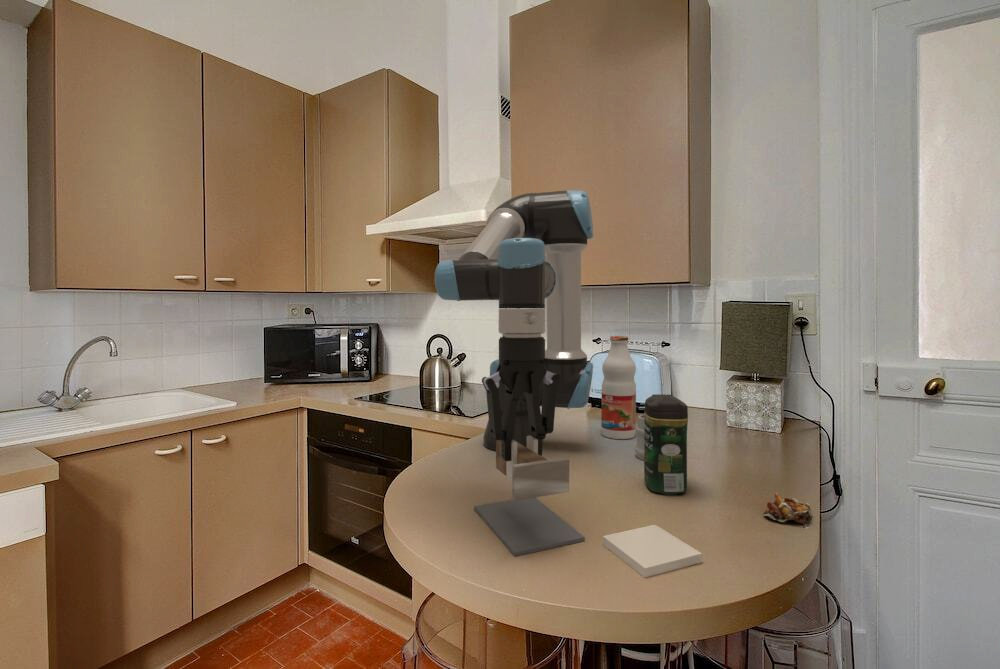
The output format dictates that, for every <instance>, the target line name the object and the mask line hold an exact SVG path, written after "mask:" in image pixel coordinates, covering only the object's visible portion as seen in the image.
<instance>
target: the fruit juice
mask: <svg viewBox="0 0 1000 669" xmlns="http://www.w3.org/2000/svg"><path fill="white" fill-rule="evenodd" d="M609 340H610V348H609V351H608V353H607V356H606V358H605V359H604V361H603V363H602V368H601V371H602V373H603V380H602V383H601V415H600V416H601V422H600V423H601V425H600V426H601V429H600V431H601V435H602V436H603V437H605V438H609V439H614V440H630V439H633V438H635V436H636V433H637V431H636V428H637V427H636V424H637V419H636V418H637V385H636V382H635V374H636V372H637V368H636V363H635V361H634V360H633V357H631V353H630V351H629V348H628V343H629V336H628V335H611V336H610V339H609Z"/></svg>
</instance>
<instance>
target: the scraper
mask: <svg viewBox="0 0 1000 669" xmlns="http://www.w3.org/2000/svg"><path fill="white" fill-rule="evenodd" d="M501 453H502V452H501V440H497V441H496V450H495V469H497V470H498V471H499V472H500V473H501V474H503V475H504V476H506V461H505V460H503V459H502V456H501ZM511 483H512V487H511V488H512V499H514V500H516V501H517V500H523V499H529V498H535V497H536V498H539V497H547V496H553V495H557V494H558V495H559V494H565V493H569V492H570V459H569V458H568V457H567V458H566V457H561V458H553V459H548V458H545V457H544V456H543V455H542V456H540V455H539V454H537V453H535V452H533V451H531V450H530V449H528V448H526V447H525V446H523V445H521V444H519V443H518V442H517V464H515V465H512V481H511Z"/></svg>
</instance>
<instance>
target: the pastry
mask: <svg viewBox="0 0 1000 669" xmlns="http://www.w3.org/2000/svg"><path fill="white" fill-rule="evenodd" d="M774 498H775V499H774V502H770V501H768V502H767V503H766V509H765V510H764V512H763V516H766V517H768V518H770V519H772V520H774V521H778V522H781V523H786V522H787V521H792V522H795V523H799V524H802V525H803V528H804V529H803V530H805V529H809V530H810V529H811V528H810V526H808V524H809V525H810V523H809V522H808V520H807V518H808V517H811V516H812V511H811V509H810V504H809V503H808V502H806V503H804V502H803V501H800V500H799V499H797V498H795V497H793V498H791V497H784V498H783V499H782V498H781V497H780V494H778V493H777V492H775V493H774ZM805 524H806V525H807V526H804V525H805Z"/></svg>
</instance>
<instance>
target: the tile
mask: <svg viewBox="0 0 1000 669" xmlns="http://www.w3.org/2000/svg"><path fill="white" fill-rule="evenodd" d="M602 546H604V547H606V548H607V549H608V550H610V552H612V553H613V554H614V555H616V556H617V557H618V558H620V559H621V560H622V561H623V562H624V563H626V565H628V566H629V567H630V568H632V569H633V570H634V571H636V572H637V573H639V574H640V575H641V576H642V577H643V578H648V577H649V578H650V577H652V576H657V575H660V574H665V573H668V572H671V571H675V570H679V569H683V568H686V567H689V566H690V567H691V566H693V565H698V564H702V563H703V553H702V552H700V551H699V550H697V549H696V548H693V547H692V546H691V545H689V544H687V543H685V542H684V541H682V540H681V539H679V538H678V537H676V536H674V535H673V534H671V533H670V532H668V531H666V530H664V529H663V528H661V527H660V526H658V525H656V524H651V525H647V526H643V527H637V528H634V529H629V530H625V531H619V532H615V533H611V534H605V535H602Z"/></svg>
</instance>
